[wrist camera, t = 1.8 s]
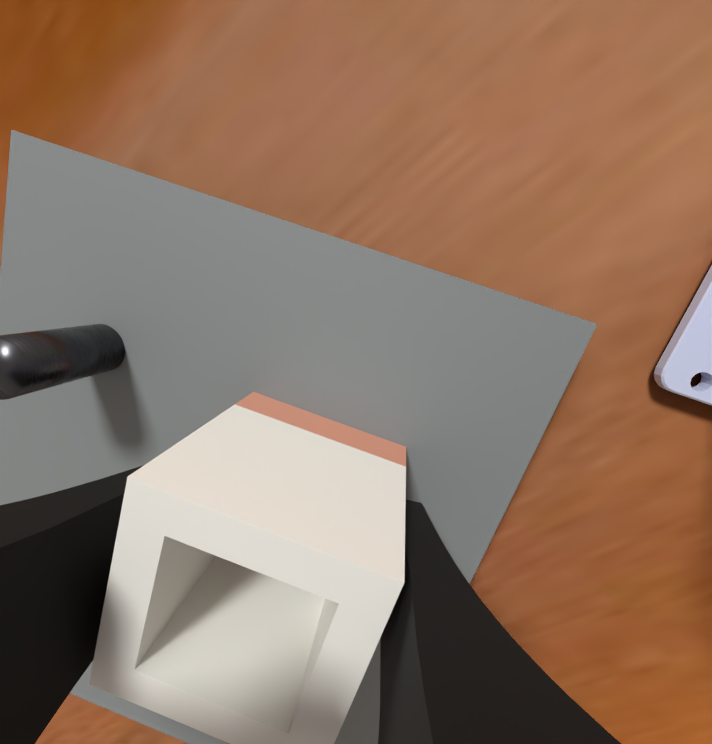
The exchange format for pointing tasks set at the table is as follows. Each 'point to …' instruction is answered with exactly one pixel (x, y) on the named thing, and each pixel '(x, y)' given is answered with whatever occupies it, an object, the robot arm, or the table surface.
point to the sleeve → (255, 574)
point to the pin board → (263, 353)
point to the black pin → (56, 357)
